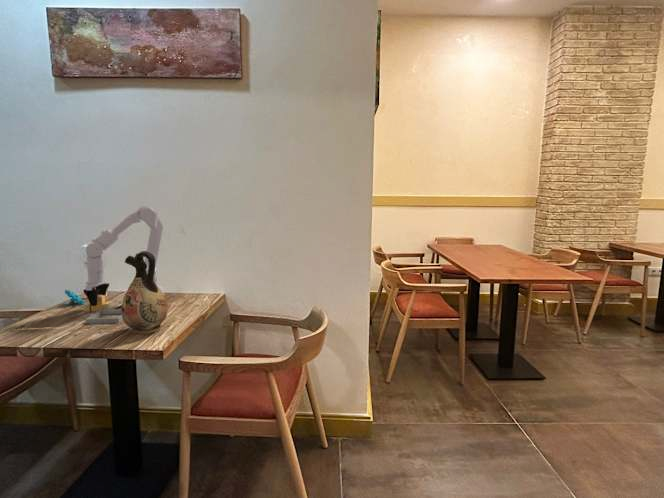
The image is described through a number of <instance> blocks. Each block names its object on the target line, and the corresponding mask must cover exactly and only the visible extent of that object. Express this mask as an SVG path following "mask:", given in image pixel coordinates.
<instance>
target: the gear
mask: <svg viewBox="0 0 664 498" xmlns="http://www.w3.org/2000/svg"><path fill="white" fill-rule="evenodd" d="M64 294H66V296H67V297H69V298H70V300H69V302H68V303H67V304H66V306H70V305H71V304H72V303H77V304H80V305H81V306H84V304H86V301H85V300H84V299H83V297H82V298H81V297H80V296H79V294H77V293H76V294H75V292H73V291H71V290H69V289H65V291H64Z"/></svg>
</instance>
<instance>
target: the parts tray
mask: <svg viewBox="0 0 664 498" xmlns="http://www.w3.org/2000/svg"><path fill="white" fill-rule="evenodd" d="M121 310H122V308H121V309H114V310H99V311H97V312H96V313H94V314H90V316H89V317H87V318H85V324H86V325H85V326H86V327H87V326H92V325H95V324H114V325H115V326H116V325H117V326H118V325H120V324H119V323H121V322H122V321H124V320H123V318H122V311H121ZM101 315H102V316H103V315H107V316H108V315H119V316H118V317H101ZM87 324H88V325H87ZM91 324H92V325H91Z"/></svg>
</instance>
